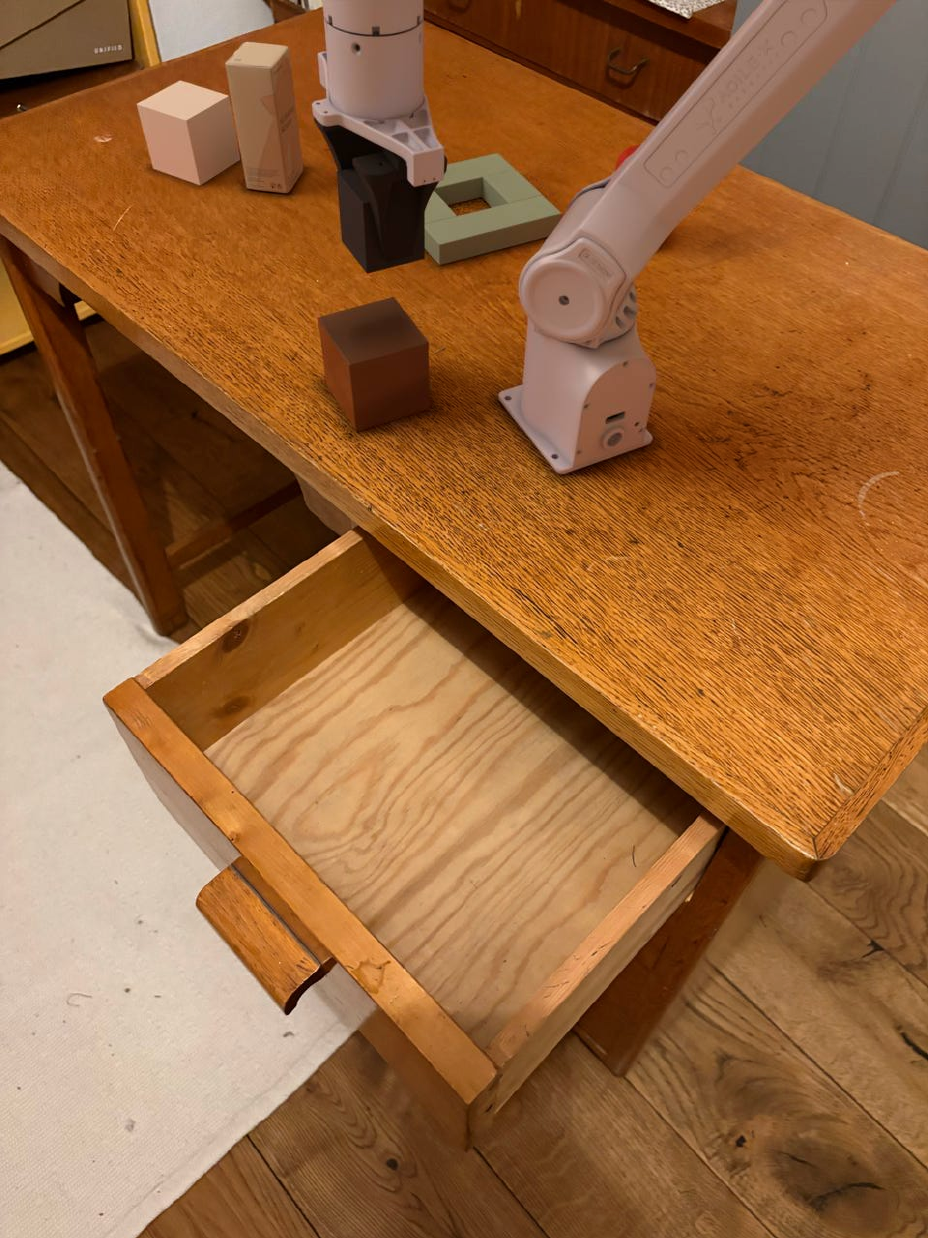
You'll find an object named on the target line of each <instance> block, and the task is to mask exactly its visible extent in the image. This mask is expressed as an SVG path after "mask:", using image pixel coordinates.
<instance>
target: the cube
mask: <svg viewBox="0 0 928 1238" xmlns="http://www.w3.org/2000/svg"><path fill="white" fill-rule="evenodd" d="M317 325H318V331H319V340H320V348H321V355H322V364H323V371H324V380H325V385H326V387H327V389H328V390H329V391H330V392H329V393H330V394H331V395H332V396H333V398H334V400H335V401H336V403H337V404H338V406H339V407H340V409H341V411H342V412H343V414H344V415H345V418H346V419H347V420H348V422H349V424H350V425H351V426H352V428H353V430H354V431H355V432H356V433H358V432H361V431H364V430H367V429H371V428H374V427H377V426H380V425H384V424H387V423H390V422H393V421H396V420H400V419H403V418H406V417H409V416H413V415H415V414H418V413H422V412H425V411H429V410H430V409H431V398H430V395H431V394H430V393H431V392H430V342H429V340H428V339H427V337H426V336H425V335H424V334H423V332H422V331H421V330H420V328H418V326H417V325H416V323H415V322H414V321H413V319H412V318H411V317H410V315H409V314H408V313H407V312H406V310H405V309H404V307H403V306H402V304H400V303H399V301H398V300H397V298H396V297H395V296H391V297H388V298H383V299H381V300H377V301H373V302H369V303H365V304H362V305H357V306H355V307H350V308H347V309H344V310H343V309H342V310H340V311H336V312H333V313H329V314H325V315H321V316H317Z"/></svg>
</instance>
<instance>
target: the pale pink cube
mask: <svg viewBox="0 0 928 1238" xmlns="http://www.w3.org/2000/svg"><path fill="white" fill-rule="evenodd" d="M136 107H137V112H138V115H139V120H140V123H141V127H142V131H143V135H144V139H145V143H146V146H147V151H148V155H149V158H150V162H151V166H152V169H153V170H156V171H158V172H161V173H164V174H167V175H170V176H173V177H175V178H178V179H180V180H183V181H186V182H189V183H191V184H194V185H197V186H202V185H203V184H205V183H207V182H208V181H209V180H211V179H213V178H214V177H216V176H217V175H219V174H221V173H223V172H224V171H225V170H226V169H229V167H232V166H233V165H235V163H238V162H239V161H241V155H240V149H239V143H238V138H237V132H236V126H235V121H234V115H233V110H232V105H231V98H230V95H228V94H224V93H221V92H218V91H216V90H213V89H209V88H206V87H202V86H200V85H196V84H194V83H190V82H187V81H183V80H181V79H179V80H178V81H176V82H174V83H173V84H171V85H169V86H167V87H165V88H164V89H162V90H160V91H158V92H156V93H154V94H152V95H151V96H149V97H147V98H145V99H143V100H142V101H139V102H138V103H136Z"/></svg>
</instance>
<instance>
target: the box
mask: <svg viewBox="0 0 928 1238" xmlns="http://www.w3.org/2000/svg"><path fill="white" fill-rule="evenodd" d="M225 69H226V76H227V82H228V87H229V95H230V101H231V104H232V105H231V106H232V113H233V118H234V124H235V130H236V136H237V142H238V148H239V153H240V159H241V164H242V169H243V175H244V180H245V181H244V182H245V186H246V189H248V190H255V191H261V192H262V191H263V192H271V193H272V192H273V193H281V194H288V193H290V191H291V190H292V188H293V187H294V185H296V182H297V181H298V179H299V178H300V176H301V175H302V173H303V172H304V163H303V156H302V155H303V154H302V147H301V137H300V129H299V122H298V114H297V105H296V97H295V87H294V81H293V71H292V65H291V57H290V47H289V46H287V45H282V44H273V43H265V42H262V43H261V42H255V41H245V42H243V43H242V44H241V45H240V46H239V47H238V48H237V49H236V50H235V51H234V52H233V54H232V55H231V56H230V57H229V59H228V60H226V62H225Z"/></svg>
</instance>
